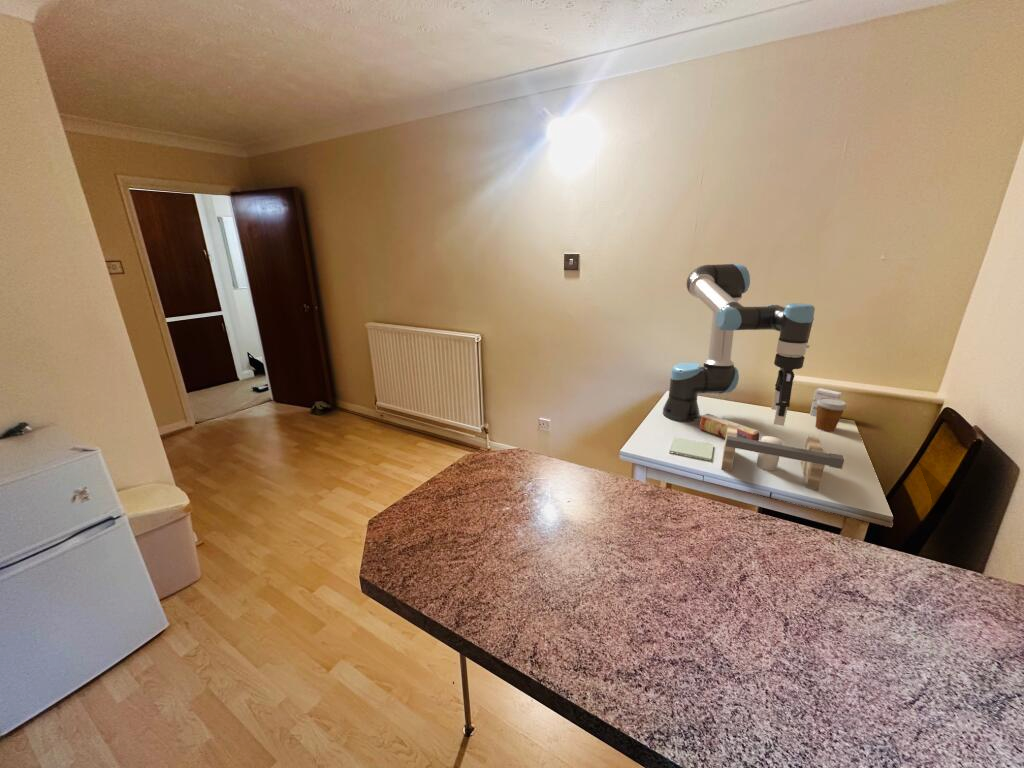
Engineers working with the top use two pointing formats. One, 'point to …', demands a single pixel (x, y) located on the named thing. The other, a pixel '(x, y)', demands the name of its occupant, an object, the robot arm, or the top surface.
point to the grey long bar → (786, 451)
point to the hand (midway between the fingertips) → (777, 416)
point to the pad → (692, 448)
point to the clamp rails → (809, 469)
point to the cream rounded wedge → (768, 455)
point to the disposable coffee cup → (829, 413)
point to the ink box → (823, 393)
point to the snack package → (720, 427)
